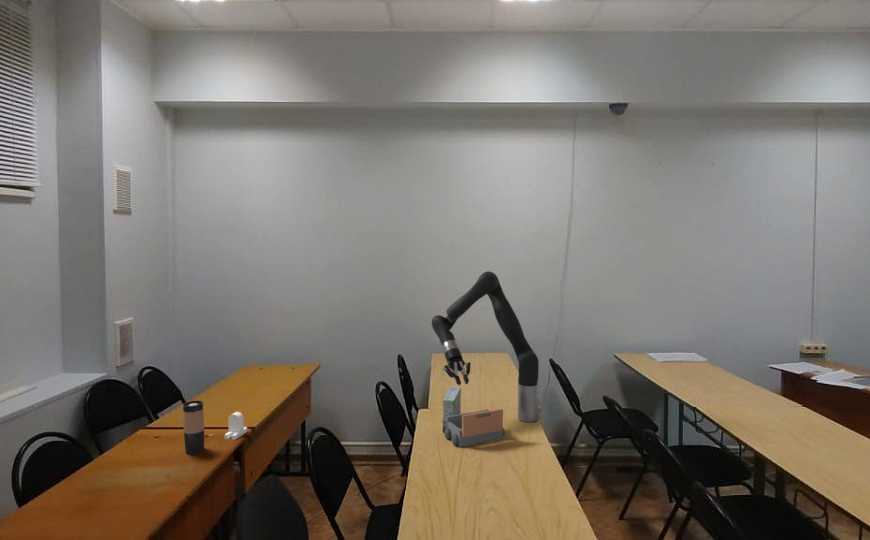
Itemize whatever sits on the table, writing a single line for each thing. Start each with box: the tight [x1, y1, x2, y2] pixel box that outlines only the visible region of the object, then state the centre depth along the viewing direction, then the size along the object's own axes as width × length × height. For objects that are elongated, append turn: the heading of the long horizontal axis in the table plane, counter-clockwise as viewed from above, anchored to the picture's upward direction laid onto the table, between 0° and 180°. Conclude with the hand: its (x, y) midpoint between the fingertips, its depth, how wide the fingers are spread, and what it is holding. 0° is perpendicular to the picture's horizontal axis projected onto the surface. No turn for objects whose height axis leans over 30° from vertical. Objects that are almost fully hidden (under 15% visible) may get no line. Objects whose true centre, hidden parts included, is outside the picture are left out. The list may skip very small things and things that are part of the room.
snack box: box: [442, 386, 462, 433], centre depth 241 cm, size 21×6×15 cm, turn 168°
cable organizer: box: [224, 411, 248, 441], centre depth 231 cm, size 5×10×10 cm, turn 168°
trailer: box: [443, 409, 506, 448], centre depth 226 cm, size 23×13×9 cm, turn 114°
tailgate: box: [462, 408, 504, 437], centre depth 218 cm, size 19×2×9 cm, turn 114°
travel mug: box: [182, 400, 205, 455], centre depth 214 cm, size 8×8×20 cm
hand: (463, 383), depth 234 cm, fingers open, 3 cm apart
